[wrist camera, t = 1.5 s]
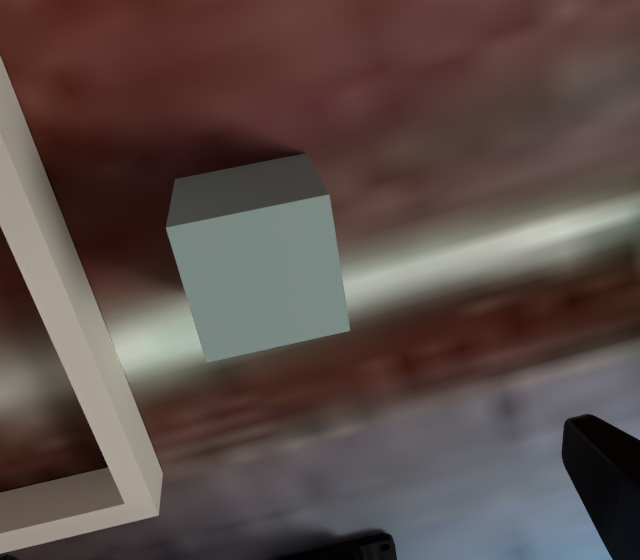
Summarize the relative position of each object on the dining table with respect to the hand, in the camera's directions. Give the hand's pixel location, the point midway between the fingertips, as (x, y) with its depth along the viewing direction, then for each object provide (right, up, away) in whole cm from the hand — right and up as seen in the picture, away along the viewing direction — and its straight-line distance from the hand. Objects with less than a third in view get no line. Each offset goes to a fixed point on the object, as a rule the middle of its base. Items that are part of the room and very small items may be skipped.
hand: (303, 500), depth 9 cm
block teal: (-2, +5, +11) cm, 12 cm away
